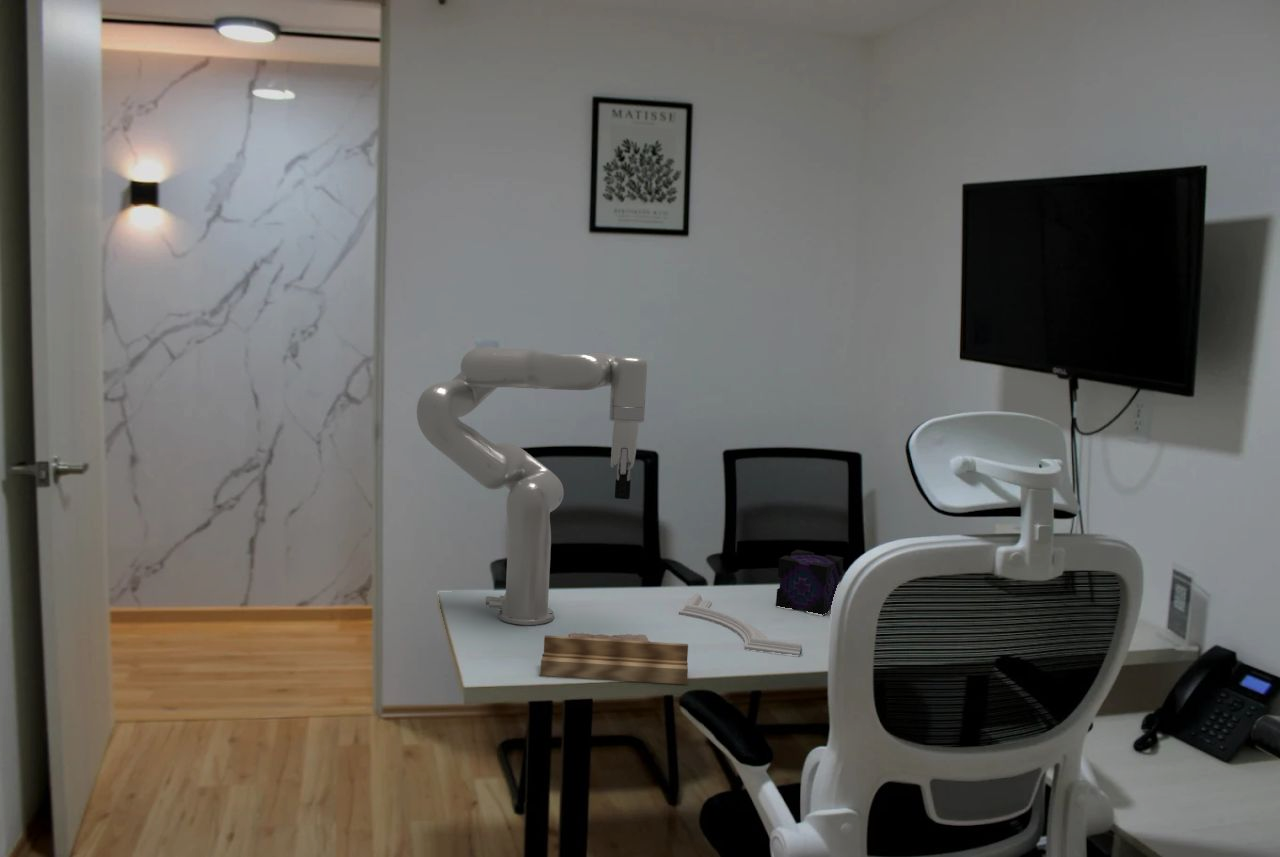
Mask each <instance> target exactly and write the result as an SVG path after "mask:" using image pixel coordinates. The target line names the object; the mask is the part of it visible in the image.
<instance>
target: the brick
mask: <svg viewBox="0 0 1280 857" xmlns="http://www.w3.org/2000/svg"><path fill="white" fill-rule="evenodd" d="M568 637H580V638H597V639H613V640H630V641H646V642H651V641H650V640H649V638H648V637H647V635H645V634H627V633H626V634H613V635H612V636H611V635H606V634H602V633H601V634H599V633H597V634H592V633H583V632H581V633H580V632H569V633H568Z"/></svg>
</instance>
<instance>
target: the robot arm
mask: <svg viewBox="0 0 1280 857" xmlns="http://www.w3.org/2000/svg"><path fill="white" fill-rule="evenodd" d="M647 377H648V362H647V360H646V358H644V357H640V356H635V355H634V356H633V355H614V354H609V353H604V352H590V353H585V354H570V353H569V354H567V353H566V354H565V353H563V354H562V353H561V354H560V353H559V354H558V353H556V354H555V353H545V352H542V351H540V350H537V349H534V348H499V347H496V346H495V347H494V346H486V347H485V346H484V347H477V348H474V349H471V350H469V351H468V352H467V353H465V355H464V356H463V357H462V359H461V363H460V372H459V373H458V374H457V375H456V376H454V377H453V379H451V380H448V381H445V382H438V383H435V384H432V385H430V386H428V387H427V388H426V389H425V390H424V391H423V392H421V395H420V396H419V398H418V401H417V404H416V419H417V424H418V427H419V429H420V431H421V433H422V434H423V436H424V437H425V439H426V441H428V442H429V443H430V444H431V445H432V446H433V447H435V449H437V450H438V451H440V452H441V453H442V454H443V455H445V456H446V457H447V458H449V459H450V460H451V461H452V462H453V463H455V465H457V467H458V468H460V469H461V470H462V471H464V472H465V473H466V474H468V475H469V476H470V477H471V478H472V479H473V480H475V481H476V482H478V483H479V484H480V485H481V486H483V487H484V488H486V489H488V490H494V491H496V490H500V489H503V488H507V489H508V490H509V492H508V494H507V499H506V506H505V507H506V517H507V518H506V520H507V554H506V555H507V558H506V580H505V593H504V595H500V596H498V597H496V596H491V595H490V596H489V595H486V596H485V605H486V606H488V607H489V608H499V609H498V610H497V617H498V618H499V620H501V621H503V622H504V623H508V624H513V625H521V626H522V625H523V626H532V625H533V626H536V625H544V624H547V623H550V622H551V621H553V620H554V619H555V611H554V610H553V608H550V607H549V592H550V591H549V590H550V571H551V570H550V568H551V553H552V552H551V551H552V550H551V547H552V531H551V529H552V528H551V518H550V517H551V516H550V515H551V514H550V513H551V512H553V511H555V510H556V509H557V508H558V507H559V506H560V505H561V504H562V501H563V499H564V495H565V494H564V486H563V483H562V481H561V480H560V478H559V477H558V476H557V475H556V474H555V473H553V471H552V470H550V469H549V468H547V467H546V466H545V465H544V464H542V463H541V462H540V461H538V459H536V458H535V457H533V456H532V455H531V454H530V453H528V452H527V451H526V450H524V449H523V448H522V447H520V446H518V445H516V444H513V443H510V442H501V443H497V444H495V443H494V442H491V441H490V440H488V438H486V437H484V436H483V435H482V434H481V433H480V432H478V431H477V430H476V429H474V428H473V427H471V426H469V425H468V424H466V423H464V422H462V421H461V420H460V419H459V418H462V417H464V416H467V415H468V414H470V413H471V412H472V411H474V410H475V409H476V408H477V407H478V406H479V405H480V404H481V403H482V402H483V401H485V400H486V399H487V397H488V396H490V395H491V394H493V392H495V390H496V389H497V388H515V389H534V390H538V389H540V390H541V389H545V390H557V391H558V390H561V391H591V390H595V389H598V388H603V387H610V394H609V395H610V400H609V417H608V419H609V420H608V421H611V422H613V426H612V437H611V451H610V455H611V456H610V467H611V468H614V466H616V479H615V485H614V498H615V499H618V500H629V499H630V496H631V482H632V481H631V478H630V477H631V469H632V468H634V465H635V460H636V454H637V446H638V435H639V434H638V433H639V424H640V423H641V424H642V423H644V422H645V412H646V411H645V410H646V394H647V380H648V379H647Z"/></svg>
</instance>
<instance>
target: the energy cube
mask: <svg viewBox="0 0 1280 857" xmlns="http://www.w3.org/2000/svg"><path fill="white" fill-rule="evenodd" d="M843 566H844V557H843V556H837V555H832V554H825V555H822V556H821V555H817V554H815V552H812V551H808V550H802V549H795V550H793V551H792V552H790V555H789V554H788V555H787V554H785V555H784V556H782V557H780V558H779V559H778V572H777V576H778V577H779V588H777V589H776V596H775V598H776V600H775V607H776V606H780V607H785V608H792V609H794V610H795V609H797V610H801V611H804V612H805V611H808V612H813V613H818V614H822V615H823V614H825V613H827V612H828V611H829V612H830V609H831V605H832V601H833V597H834V594H835V591H836V588H837V585H838V584H839V585H840V577H841V576H842V575H843V570H844V569H843V568H844V567H843ZM827 614H828V613H827Z"/></svg>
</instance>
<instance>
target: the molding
mask: <svg viewBox="0 0 1280 857" xmlns="http://www.w3.org/2000/svg"><path fill="white" fill-rule="evenodd" d="M712 605H713V603H712V601H711V600H710V599H705V600H703V598H702V595H701V593H695V594H694V595H693V596H692V597H691V598H688V600H687V601H686V602H685V604H684V605H683V606H682V608H681V609H680V610H679V611H678V615H679V616H684V615H685V617H689V618H690V617H691V618H695V619H699V620H704V621H707V622H710V623H713V622H714V623H713V624H716V625H719V624H720V626H721V625H722V627H723V628H727V629H728V630H730V631H731V632H733V633H735V634H736V633H737V634H736V635H737V636H739V638H740V639H743V640H742V641H743V644H744V643H745V644H744V646H743V648H744V649H749V650H748V651H751V650H756V651H755V652H758V651H763V652H762V653H765V652H775V653H781V654H792V655H800V656H801V653H800V651H801V649H802V650H803V645H802V643H799V642H792V641H786V640H779V639H778V640H776V639H769V638H768V636H766V635H765V633H763V631H761V630H760V629H758V628H757V627H755V625H752V624H750V623H749V622H746V621H744V620H742V619H740V618H737V617H736V616H733V615H731V614H728V613H727V612H726V613H725V612H722V611H719V610H716V609H713V608H709V607H711V606H712ZM744 649H743V650H744ZM801 652H802V651H801Z"/></svg>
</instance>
